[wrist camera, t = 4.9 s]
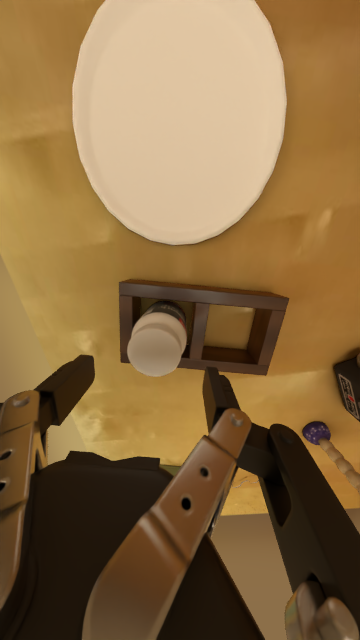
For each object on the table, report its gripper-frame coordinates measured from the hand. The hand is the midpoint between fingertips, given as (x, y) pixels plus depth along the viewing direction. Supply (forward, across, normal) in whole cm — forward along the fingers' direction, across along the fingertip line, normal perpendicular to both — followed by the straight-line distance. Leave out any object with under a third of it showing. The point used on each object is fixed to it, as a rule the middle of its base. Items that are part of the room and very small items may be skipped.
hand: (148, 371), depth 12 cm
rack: (+12, -4, 0) cm, 13 cm away
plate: (+13, 0, -20) cm, 24 cm away
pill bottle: (+13, 0, 0) cm, 13 cm away
